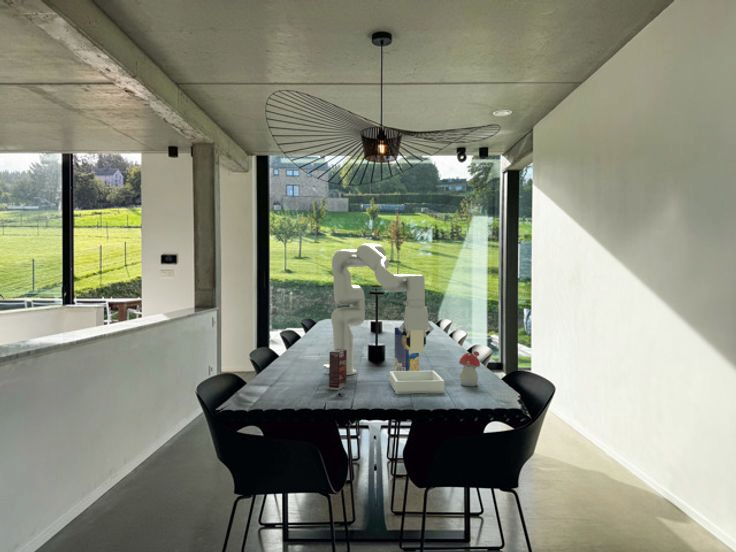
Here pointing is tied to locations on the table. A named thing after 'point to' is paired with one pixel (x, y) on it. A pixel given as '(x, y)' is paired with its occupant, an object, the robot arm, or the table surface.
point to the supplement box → (337, 369)
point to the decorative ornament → (469, 369)
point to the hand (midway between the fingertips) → (416, 346)
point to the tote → (416, 382)
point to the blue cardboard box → (404, 354)
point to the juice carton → (416, 341)
